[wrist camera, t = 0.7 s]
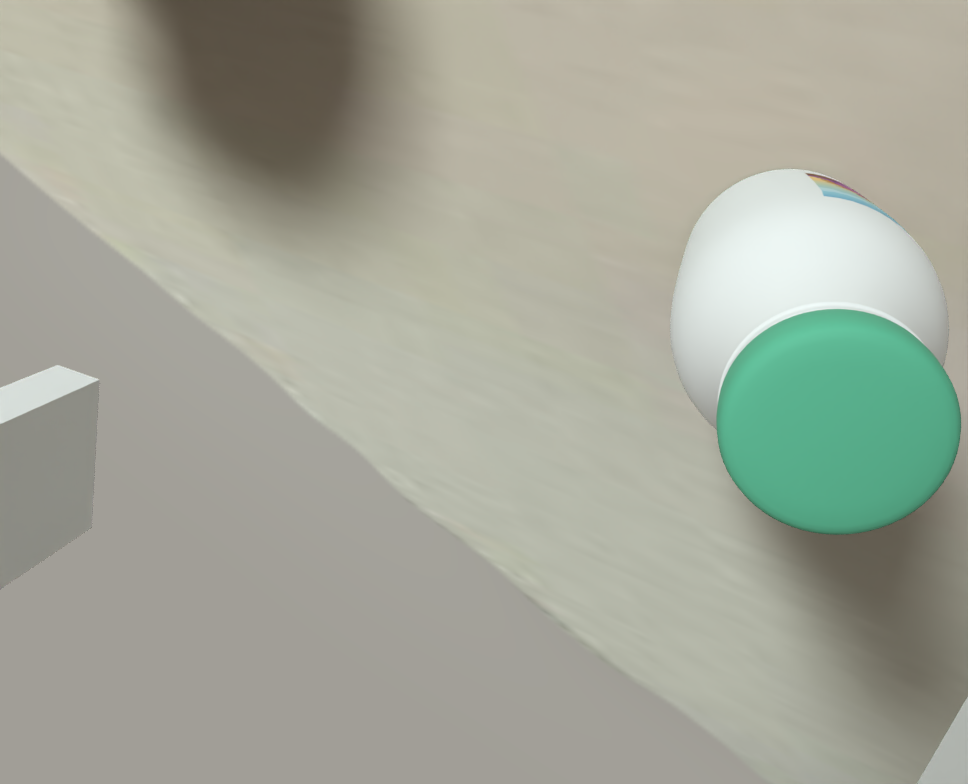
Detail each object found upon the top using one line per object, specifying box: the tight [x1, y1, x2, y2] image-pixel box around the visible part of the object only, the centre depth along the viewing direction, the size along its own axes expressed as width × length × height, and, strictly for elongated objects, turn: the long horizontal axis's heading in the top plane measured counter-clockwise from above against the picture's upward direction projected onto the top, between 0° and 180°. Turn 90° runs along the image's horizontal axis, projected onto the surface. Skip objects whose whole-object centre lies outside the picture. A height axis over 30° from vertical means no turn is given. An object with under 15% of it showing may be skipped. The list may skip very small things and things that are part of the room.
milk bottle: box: [670, 169, 961, 535], centre depth 26 cm, size 8×8×20 cm
